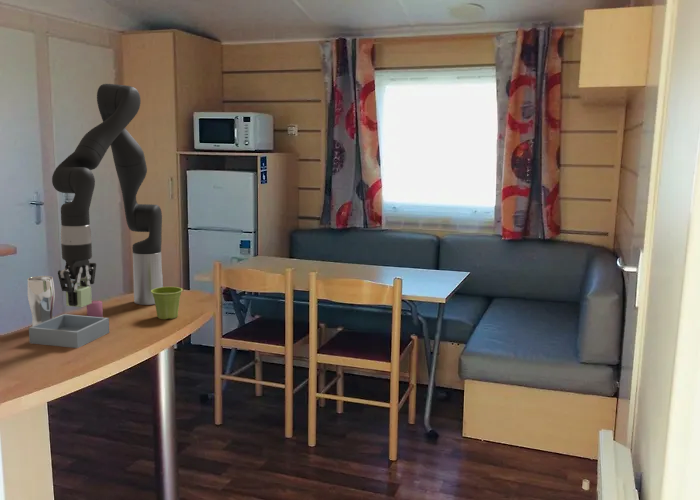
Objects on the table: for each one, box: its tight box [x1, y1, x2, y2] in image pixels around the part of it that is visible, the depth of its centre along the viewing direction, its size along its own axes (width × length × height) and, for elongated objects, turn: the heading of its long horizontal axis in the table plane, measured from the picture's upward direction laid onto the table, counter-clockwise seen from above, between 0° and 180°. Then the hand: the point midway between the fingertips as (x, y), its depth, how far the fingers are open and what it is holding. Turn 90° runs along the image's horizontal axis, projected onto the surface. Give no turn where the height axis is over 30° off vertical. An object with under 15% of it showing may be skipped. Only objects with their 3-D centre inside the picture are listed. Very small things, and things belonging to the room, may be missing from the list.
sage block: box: [65, 285, 93, 308], centre depth 177 cm, size 5×5×5 cm
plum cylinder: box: [86, 300, 104, 318], centre depth 195 cm, size 4×4×6 cm
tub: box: [28, 313, 110, 349], centre depth 180 cm, size 15×15×4 cm
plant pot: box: [151, 286, 183, 320], centre depth 202 cm, size 9×9×9 cm
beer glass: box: [27, 275, 56, 327], centre depth 186 cm, size 7×7×15 cm
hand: (79, 303), depth 177 cm, fingers closed on sage block, 4 cm apart
